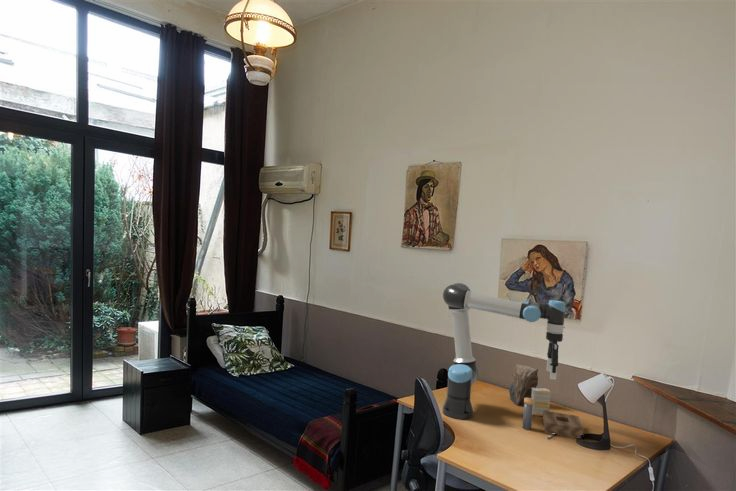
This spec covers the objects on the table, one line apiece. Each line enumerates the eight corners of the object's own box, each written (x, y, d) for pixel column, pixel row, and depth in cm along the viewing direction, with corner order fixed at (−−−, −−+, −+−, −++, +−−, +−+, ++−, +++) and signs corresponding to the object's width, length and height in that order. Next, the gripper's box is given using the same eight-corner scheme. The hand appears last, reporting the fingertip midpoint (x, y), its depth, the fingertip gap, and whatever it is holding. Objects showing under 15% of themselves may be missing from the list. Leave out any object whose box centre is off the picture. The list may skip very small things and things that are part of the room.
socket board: (545, 433, 212) (545, 422, 211) (542, 420, 227) (543, 410, 227) (582, 439, 207) (583, 428, 207) (577, 426, 222) (578, 416, 222)
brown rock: (507, 397, 258) (509, 362, 257) (529, 398, 259) (531, 363, 258) (516, 406, 245) (519, 369, 245) (539, 406, 246) (541, 370, 246)
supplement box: (546, 413, 237) (547, 388, 237) (549, 417, 232) (550, 391, 232) (529, 411, 238) (531, 387, 237) (532, 415, 233) (534, 390, 233)
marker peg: (522, 429, 214) (524, 399, 214) (522, 425, 218) (524, 396, 218) (531, 430, 213) (533, 401, 213) (531, 427, 217) (533, 398, 217)
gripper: (567, 338, 210) (563, 383, 210) (559, 328, 234) (555, 369, 234) (549, 336, 212) (545, 381, 212) (543, 326, 236) (540, 367, 236)
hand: (551, 375), depth 223 cm, fingers open, 13 cm apart
